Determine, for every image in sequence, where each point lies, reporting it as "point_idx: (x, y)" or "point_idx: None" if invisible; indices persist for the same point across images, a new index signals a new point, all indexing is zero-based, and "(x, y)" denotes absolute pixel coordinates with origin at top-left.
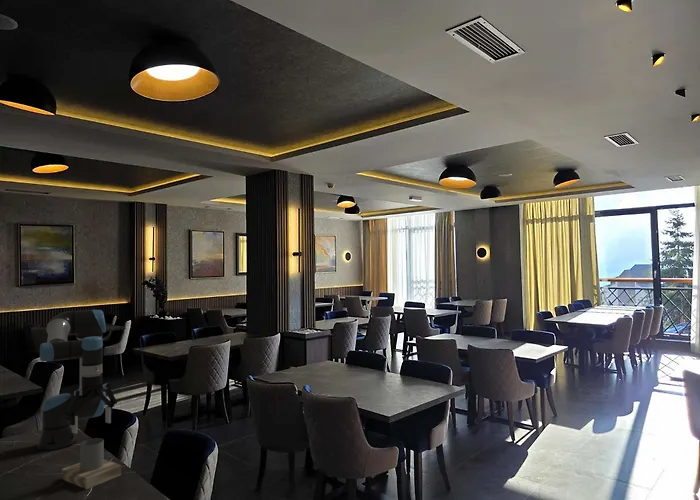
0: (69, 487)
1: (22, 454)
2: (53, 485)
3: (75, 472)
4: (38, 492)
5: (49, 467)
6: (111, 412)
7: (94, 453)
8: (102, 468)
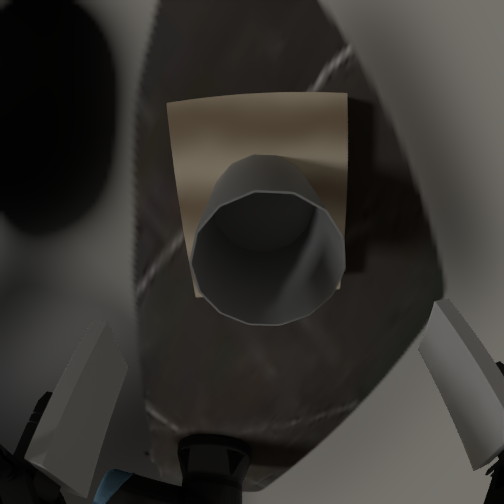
0: (358, 173)
1: (283, 450)
2: (372, 241)
3: (335, 207)
4: (419, 229)
5: (295, 372)
6: (46, 406)
7: (284, 174)
8: (242, 140)
